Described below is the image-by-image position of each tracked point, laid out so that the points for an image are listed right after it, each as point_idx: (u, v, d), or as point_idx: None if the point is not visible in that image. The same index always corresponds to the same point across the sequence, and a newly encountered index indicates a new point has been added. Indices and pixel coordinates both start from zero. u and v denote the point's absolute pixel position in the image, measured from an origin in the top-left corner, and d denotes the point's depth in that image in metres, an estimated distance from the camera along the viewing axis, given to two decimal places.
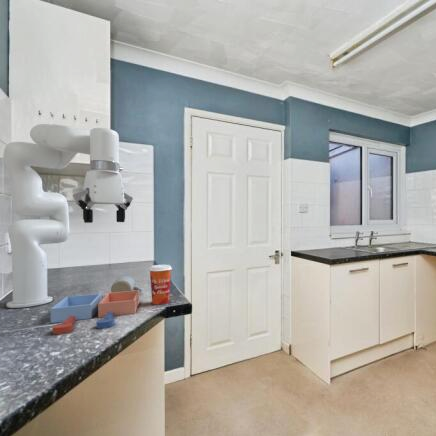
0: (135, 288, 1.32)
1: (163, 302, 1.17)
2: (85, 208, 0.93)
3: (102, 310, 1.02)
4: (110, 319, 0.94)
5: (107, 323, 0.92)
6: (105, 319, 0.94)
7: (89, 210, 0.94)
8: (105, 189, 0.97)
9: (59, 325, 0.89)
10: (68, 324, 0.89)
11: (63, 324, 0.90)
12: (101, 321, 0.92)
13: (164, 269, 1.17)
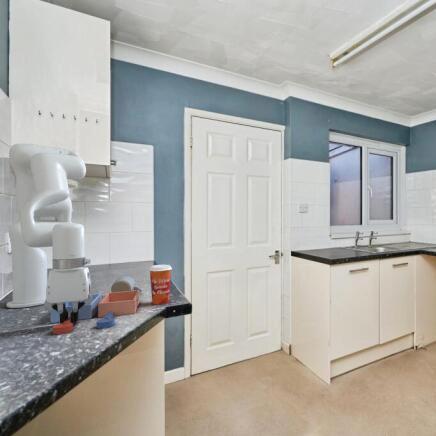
0: (135, 288, 1.32)
1: (163, 302, 1.17)
2: None
3: (102, 310, 1.02)
4: (110, 319, 0.94)
5: (107, 323, 0.92)
6: (105, 319, 0.94)
7: (62, 314, 0.93)
8: (61, 288, 0.92)
9: (59, 325, 0.89)
10: (68, 324, 0.89)
11: (63, 324, 0.90)
12: (101, 321, 0.92)
13: (164, 269, 1.17)
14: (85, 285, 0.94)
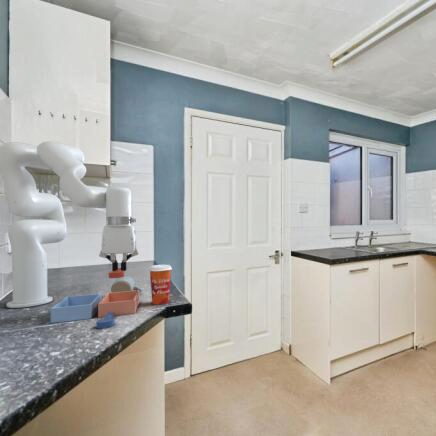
0: (135, 288, 1.32)
1: (163, 302, 1.17)
2: None
3: (102, 310, 1.02)
4: (110, 319, 0.94)
5: (107, 323, 0.92)
6: (105, 319, 0.94)
7: (114, 263, 1.10)
8: (113, 241, 1.09)
9: (113, 271, 1.06)
10: (121, 271, 1.07)
11: (116, 271, 1.07)
12: (101, 321, 0.92)
13: (164, 269, 1.17)
14: (132, 239, 1.12)
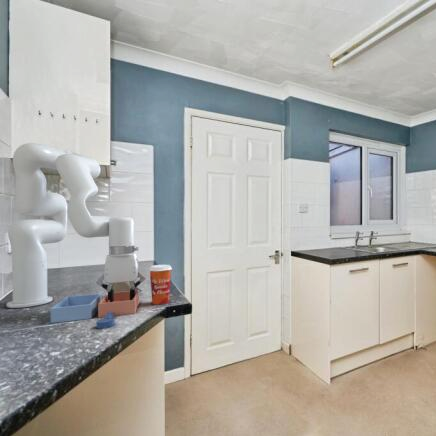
0: (135, 288, 1.32)
1: (163, 302, 1.17)
2: (107, 290, 1.10)
3: (102, 310, 1.02)
4: (110, 319, 0.94)
5: (107, 323, 0.92)
6: (105, 319, 0.94)
7: (110, 292, 1.10)
8: (116, 271, 1.10)
9: None
10: None
11: None
12: (101, 321, 0.92)
13: (164, 269, 1.17)
14: (135, 268, 1.13)
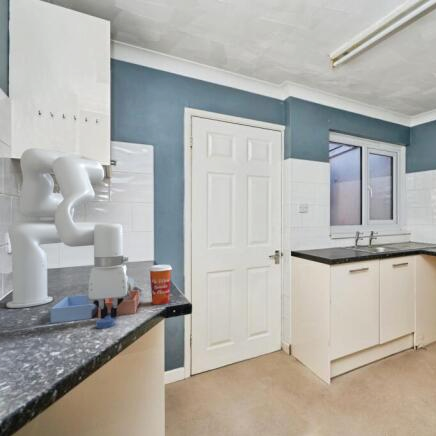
0: (135, 288, 1.32)
1: (163, 302, 1.17)
2: None
3: None
4: (110, 319, 0.94)
5: (107, 323, 0.92)
6: (105, 319, 0.94)
7: (103, 309, 0.97)
8: (102, 285, 0.96)
9: None
10: None
11: None
12: (101, 321, 0.92)
13: (164, 269, 1.17)
14: (124, 282, 0.99)
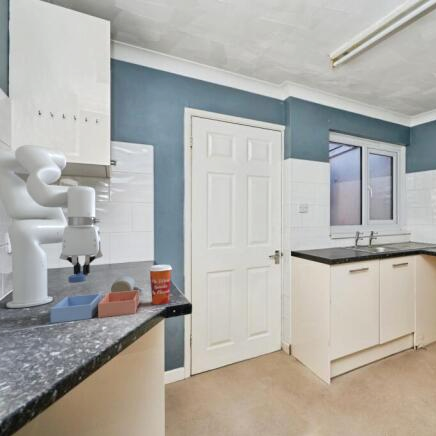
0: (135, 288, 1.32)
1: (163, 302, 1.17)
2: None
3: (102, 310, 1.02)
4: (82, 275, 1.02)
5: (78, 278, 1.00)
6: (77, 275, 1.03)
7: (75, 266, 1.05)
8: (75, 243, 1.04)
9: None
10: None
11: None
12: (73, 276, 1.01)
13: (164, 269, 1.17)
14: (96, 241, 1.07)
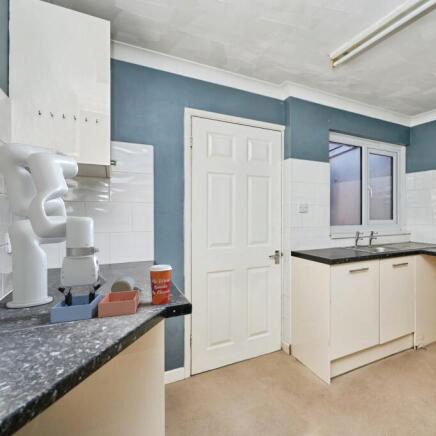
0: (135, 288, 1.32)
1: (163, 302, 1.17)
2: None
3: (102, 310, 1.02)
4: None
5: None
6: None
7: (67, 296, 1.05)
8: (73, 273, 1.05)
9: None
10: None
11: None
12: None
13: (164, 269, 1.17)
14: (94, 271, 1.08)
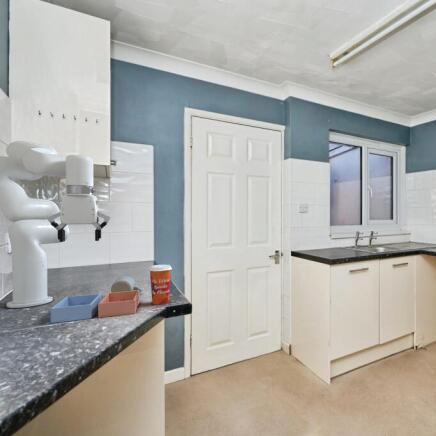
0: (135, 288, 1.32)
1: (163, 302, 1.17)
2: None
3: (102, 310, 1.02)
4: None
5: None
6: None
7: (59, 231, 1.04)
8: (73, 211, 1.05)
9: None
10: None
11: None
12: None
13: (164, 269, 1.17)
14: (94, 210, 1.08)
